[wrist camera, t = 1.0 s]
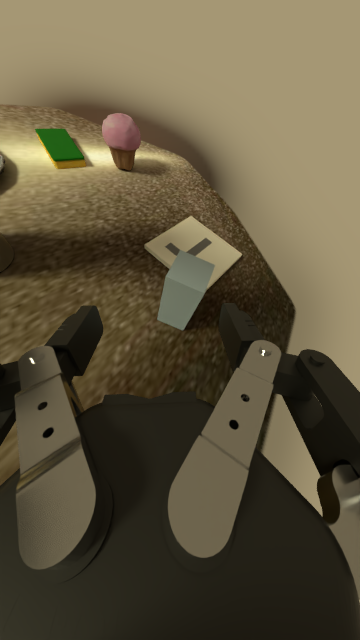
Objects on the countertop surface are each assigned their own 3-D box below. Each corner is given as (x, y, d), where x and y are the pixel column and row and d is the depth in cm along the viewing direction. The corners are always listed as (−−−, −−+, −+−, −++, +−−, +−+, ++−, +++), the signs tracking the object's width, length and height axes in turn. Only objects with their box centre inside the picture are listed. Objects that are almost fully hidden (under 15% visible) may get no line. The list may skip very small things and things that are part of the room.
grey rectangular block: (157, 319, 32) (165, 276, 21) (167, 298, 34) (180, 249, 23) (183, 330, 32) (204, 293, 21) (191, 308, 34) (215, 265, 23)
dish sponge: (57, 171, 44) (52, 159, 41) (39, 140, 47) (34, 128, 45) (87, 168, 46) (84, 157, 44) (67, 140, 50) (64, 128, 48)
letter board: (144, 248, 38) (144, 244, 37) (190, 219, 45) (191, 215, 44) (201, 295, 36) (203, 292, 35) (240, 257, 43) (242, 254, 42)
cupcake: (140, 161, 52) (140, 111, 43) (140, 178, 48) (140, 128, 39) (108, 155, 50) (101, 101, 41) (105, 172, 46) (97, 118, 37)
